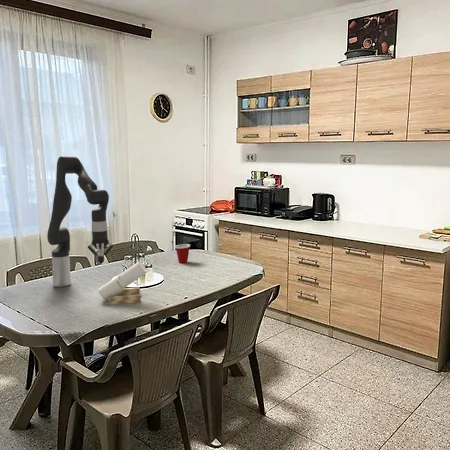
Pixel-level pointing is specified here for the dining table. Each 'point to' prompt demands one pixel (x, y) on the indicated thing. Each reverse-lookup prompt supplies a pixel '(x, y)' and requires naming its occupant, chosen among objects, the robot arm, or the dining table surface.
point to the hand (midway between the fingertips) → (101, 262)
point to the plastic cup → (182, 252)
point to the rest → (126, 296)
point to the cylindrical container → (122, 281)
